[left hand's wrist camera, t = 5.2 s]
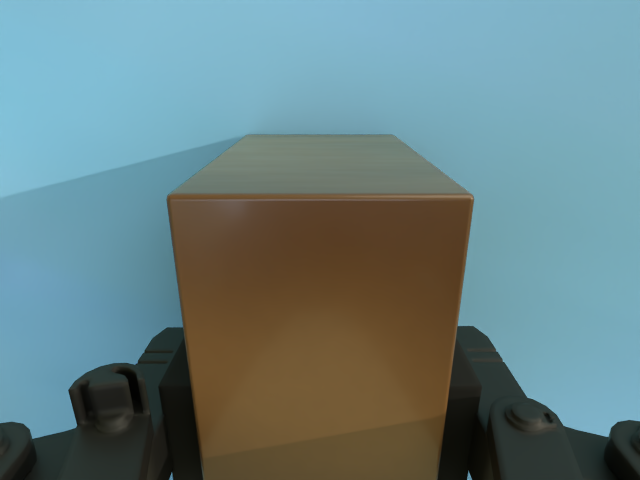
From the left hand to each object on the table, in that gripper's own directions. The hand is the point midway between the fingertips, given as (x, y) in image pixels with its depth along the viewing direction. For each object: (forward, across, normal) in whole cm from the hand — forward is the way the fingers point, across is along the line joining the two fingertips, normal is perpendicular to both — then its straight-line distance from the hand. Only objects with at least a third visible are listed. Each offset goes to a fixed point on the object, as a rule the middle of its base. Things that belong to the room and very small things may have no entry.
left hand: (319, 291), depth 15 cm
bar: (+1, 0, -28) cm, 28 cm away
